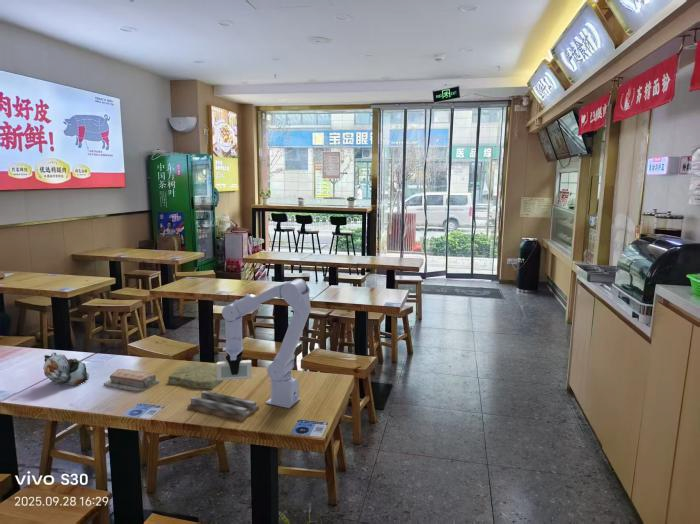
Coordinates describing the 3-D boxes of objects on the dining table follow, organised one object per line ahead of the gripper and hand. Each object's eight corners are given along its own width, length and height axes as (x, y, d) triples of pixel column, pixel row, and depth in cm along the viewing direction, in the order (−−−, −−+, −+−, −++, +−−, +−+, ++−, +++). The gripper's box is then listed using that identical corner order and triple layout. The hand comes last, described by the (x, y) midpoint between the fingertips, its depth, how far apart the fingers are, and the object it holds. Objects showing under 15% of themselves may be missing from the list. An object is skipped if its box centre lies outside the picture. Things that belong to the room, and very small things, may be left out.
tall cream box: (251, 375, 174) (251, 359, 173) (251, 378, 171) (251, 362, 170) (217, 377, 171) (217, 361, 170) (217, 380, 169) (216, 364, 168)
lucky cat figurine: (90, 384, 180) (71, 358, 172) (57, 400, 176) (36, 375, 168) (88, 361, 191) (69, 336, 184) (57, 376, 188) (37, 352, 180)
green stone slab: (190, 368, 198) (189, 360, 198) (234, 372, 194) (234, 364, 194) (164, 386, 180) (163, 377, 180) (212, 391, 176) (212, 382, 176)
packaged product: (160, 371, 182) (141, 380, 173) (160, 383, 183) (141, 393, 174) (122, 365, 188) (102, 374, 179) (123, 376, 189) (103, 386, 179)
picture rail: (258, 408, 162) (258, 400, 161) (241, 421, 152) (241, 412, 152) (207, 396, 170) (206, 389, 170) (187, 408, 161) (187, 400, 160)
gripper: (223, 330, 175) (224, 366, 177) (220, 343, 161) (222, 381, 163) (243, 330, 177) (244, 364, 179) (242, 342, 162) (243, 379, 164)
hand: (234, 372), depth 171 cm, fingers closed on tall cream box, 3 cm apart
